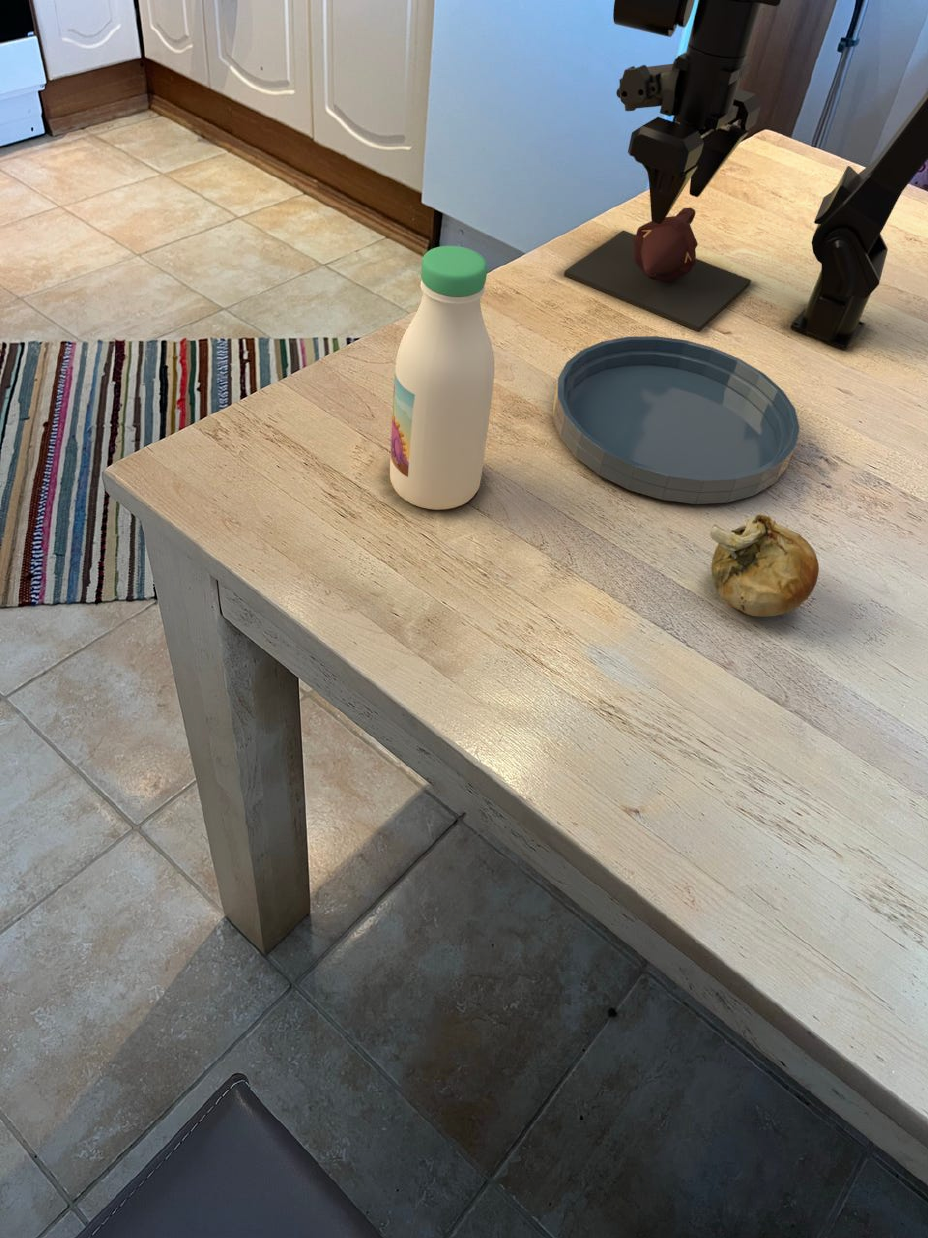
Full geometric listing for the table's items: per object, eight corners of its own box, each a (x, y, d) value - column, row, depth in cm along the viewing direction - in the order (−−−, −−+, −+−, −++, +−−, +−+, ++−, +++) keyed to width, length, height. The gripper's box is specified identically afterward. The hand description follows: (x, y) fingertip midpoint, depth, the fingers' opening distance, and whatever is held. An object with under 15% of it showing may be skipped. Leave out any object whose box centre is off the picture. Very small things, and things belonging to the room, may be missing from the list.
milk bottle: (491, 469, 82) (523, 248, 68) (462, 523, 77) (490, 297, 63) (408, 444, 84) (423, 223, 69) (375, 496, 79) (382, 269, 64)
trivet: (622, 234, 115) (623, 229, 115) (749, 284, 110) (751, 279, 109) (563, 275, 107) (564, 270, 107) (698, 332, 101) (700, 326, 101)
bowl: (622, 337, 99) (628, 311, 97) (821, 424, 92) (833, 397, 90) (507, 434, 86) (511, 406, 84) (728, 543, 79) (739, 516, 76)
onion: (757, 651, 71) (795, 575, 65) (679, 587, 75) (707, 510, 69) (818, 609, 74) (858, 534, 68) (740, 550, 78) (772, 474, 72)
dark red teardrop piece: (694, 260, 97) (725, 218, 108) (633, 222, 98) (669, 184, 108) (660, 316, 102) (693, 271, 113) (602, 281, 103) (640, 238, 113)
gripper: (685, 6, 99) (649, 160, 110) (597, 44, 88) (568, 210, 99) (783, 36, 95) (736, 191, 107) (705, 79, 84) (662, 247, 96)
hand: (675, 208), depth 102 cm, fingers open, 9 cm apart
